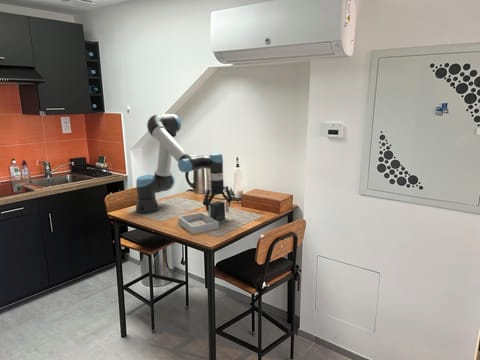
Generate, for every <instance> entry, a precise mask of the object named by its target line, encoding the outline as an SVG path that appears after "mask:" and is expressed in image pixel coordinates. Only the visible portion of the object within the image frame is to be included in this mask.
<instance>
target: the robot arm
mask: <svg viewBox="0 0 480 360" xmlns="http://www.w3.org/2000/svg"><path fill="white" fill-rule="evenodd" d="M146 127H147V131H148V133H149V134H150V136H151V137H152V138H153V139H156V140H157V141H158V142H159V145H158V147H159V148H158V159H157V168H156V170H155V171H154V175H153V174H145V175H144V174H142V175H140V176H138V178H136V184H135V185H136V192H137V193H136V194H137V201H136V205H135V212H136V213H137V212H138V214H152V212H153V213H155V212H158V211H159V210H160V206H159V203H158V201H157V199H156V194H158V193H161V192H167V191H169V190H171V189H173V187H174V186H175V177H174V175H173V173H172V171H171V166H172V165H171V163H172V158H174V160H175V161H176V162H177V167H178V169H179V171H180V172H181V173H189V172H193V171H198V170H202V169H203V170H204V169H208V170H210V171H209V172H210V173H209V174H210V187H211V188H206V192H205V195H204V199H203V201H202V205H204V206H205V211H206V212H207V215H208V216H211V212H210V205H209V204H210V203H212V201H213V199H214V197H215V196H218V195H222V197H223V198H224V199H225V213H228V214H229V213H230V207H231V201H233V197H232V194H231V192H230V190H229V186H228V185H225V184H224V164H223V163H224V158H223V154H222V153H219V152H218V153H216V152H215V153H210V154H209V156H208V155H196V156H195V157H191V156H190V155H189V154H188V153H187V151H185V150H184V149H183V148H182V146H181V145H180V144H179V143H178V142H177V141H176V140H175V139H174V138H175V137H176V136H177V133H178V132H179V131H181V129H182V122H181V120H180V118H179V116H178V115H176V114H175V113H174V114H171V113H167V114H153V115H152V116H150V117H149V118H148V121H147V124H146ZM224 185H225V186H224ZM224 191H225V192H224Z"/></svg>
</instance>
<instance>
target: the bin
mask: <svg viewBox="0 0 480 360" xmlns="http://www.w3.org/2000/svg"><path fill="white" fill-rule="evenodd" d="M177 217H178V218H177V220H178V221H177V222H178V224H179V225H180V226H182V227H183V228H185V229H186V230H187V231H188V232H189V233H190V234H192V235H195V234H199V233H204V232H208V231H213V230H219V226H220V225H219V224H218V221H216V220H214V219H213V218H211V217H210V216H208V213H207V214H206V213H205V212H203V211H200V212H196V213H195V212H194V213H191V214H190V213H189V214H183V215H179V216H177ZM197 220H203V221H205V222H206V223H203V224H198V225H192V224H191V223H190V222H192V221H197Z"/></svg>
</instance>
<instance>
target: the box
mask: <svg viewBox="0 0 480 360" xmlns="http://www.w3.org/2000/svg"><path fill="white" fill-rule="evenodd" d="M209 205H210V212H211V216H210V217H211V218H213V219H214V220H216V221H220V220H223V219H225V218H226V201H221V200H217V201H214V202H211V203H210V204H209Z"/></svg>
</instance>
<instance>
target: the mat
mask: <svg viewBox="0 0 480 360" xmlns="http://www.w3.org/2000/svg"><path fill="white" fill-rule="evenodd" d="M229 222H230V220H229V219H227V218H226V217H225V219H223V220H220V221H218V225H220V224H225V223H229Z"/></svg>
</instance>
